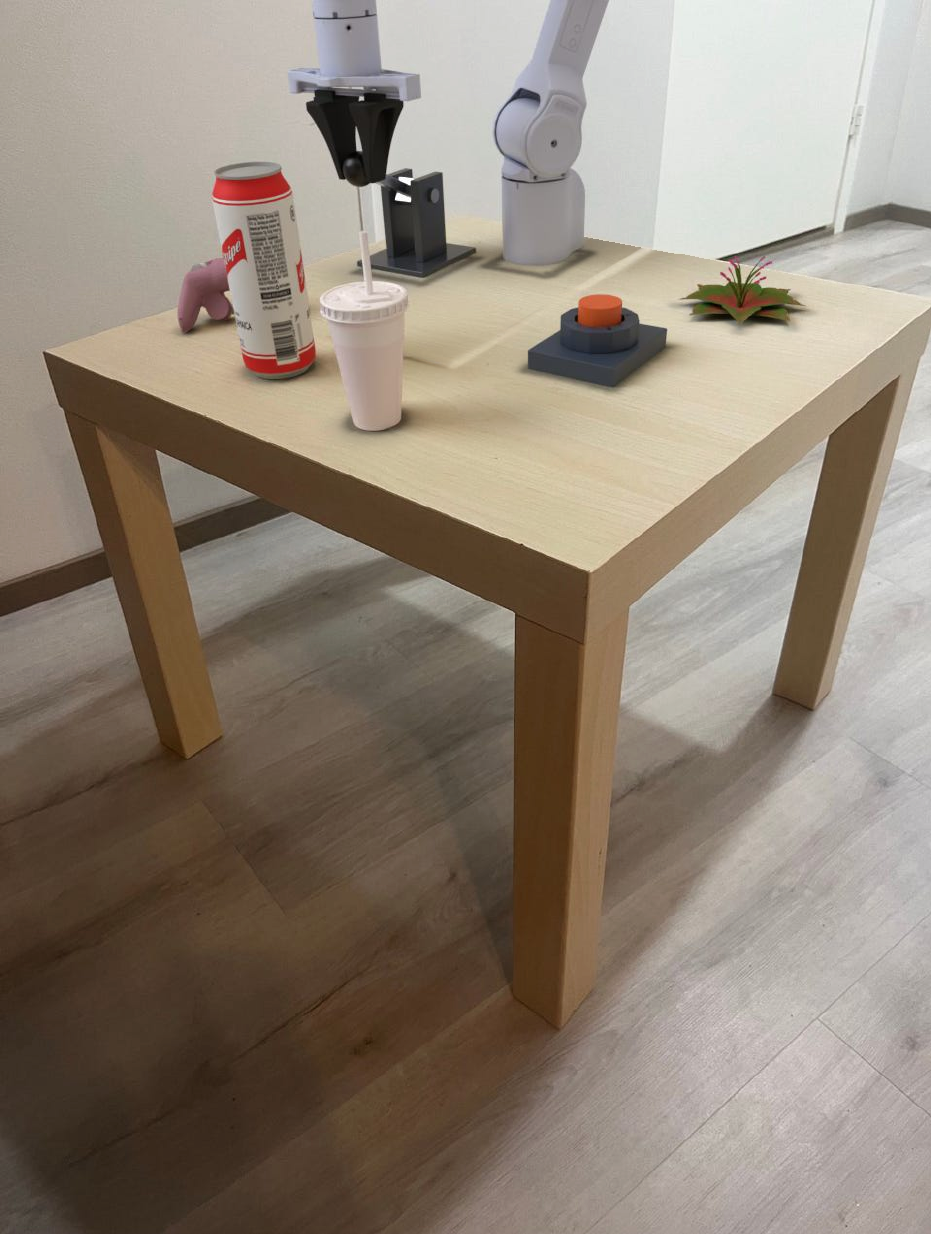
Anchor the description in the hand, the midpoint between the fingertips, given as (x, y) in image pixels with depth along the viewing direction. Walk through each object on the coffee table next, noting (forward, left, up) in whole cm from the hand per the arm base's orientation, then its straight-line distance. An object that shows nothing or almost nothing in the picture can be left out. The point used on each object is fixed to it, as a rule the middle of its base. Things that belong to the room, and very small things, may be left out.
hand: (362, 179), depth 92 cm
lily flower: (-11, +36, -11) cm, 39 cm away
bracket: (-8, 0, -10) cm, 13 cm away
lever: (-3, 0, -2) cm, 4 cm away
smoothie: (+25, +21, -11) cm, 34 cm away
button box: (+6, +30, -10) cm, 32 cm away
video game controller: (+15, -5, -11) cm, 19 cm away
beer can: (+21, +7, -11) cm, 25 cm away
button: (+6, +30, -7) cm, 31 cm away
